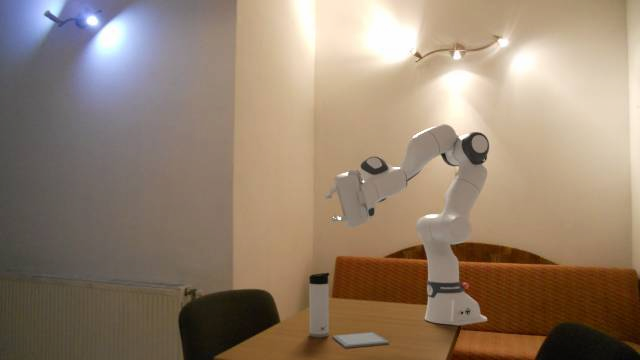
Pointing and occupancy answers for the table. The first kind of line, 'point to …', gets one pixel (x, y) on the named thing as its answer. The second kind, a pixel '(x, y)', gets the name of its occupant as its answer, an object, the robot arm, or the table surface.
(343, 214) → the robot arm
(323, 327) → the travel mug
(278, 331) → the table surface
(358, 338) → the felt pad
